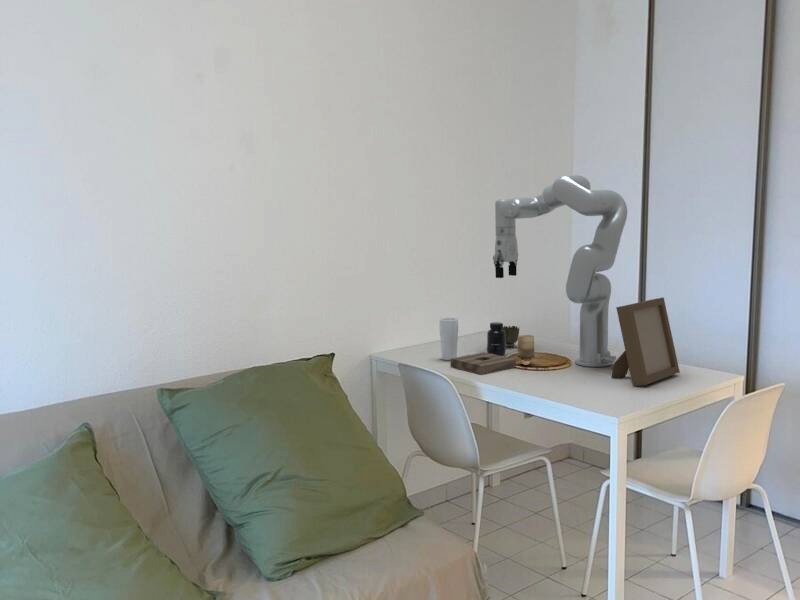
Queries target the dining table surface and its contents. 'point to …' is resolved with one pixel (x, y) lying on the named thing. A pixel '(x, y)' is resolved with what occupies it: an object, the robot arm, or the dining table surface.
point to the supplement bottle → (496, 339)
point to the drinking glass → (449, 337)
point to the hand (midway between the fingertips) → (506, 276)
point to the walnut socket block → (483, 363)
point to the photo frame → (645, 343)
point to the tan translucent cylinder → (526, 347)
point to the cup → (511, 335)
